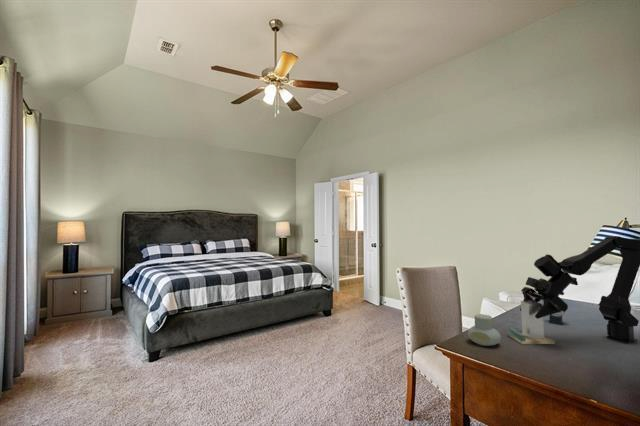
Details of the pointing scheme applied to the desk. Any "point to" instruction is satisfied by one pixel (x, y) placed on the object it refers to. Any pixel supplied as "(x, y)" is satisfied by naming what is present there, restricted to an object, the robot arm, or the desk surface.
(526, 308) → the grey tall block
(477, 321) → the air freshener
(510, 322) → the desk surface
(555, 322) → the watch
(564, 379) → the desk surface
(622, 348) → the desk surface
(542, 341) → the stand
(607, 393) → the desk surface
